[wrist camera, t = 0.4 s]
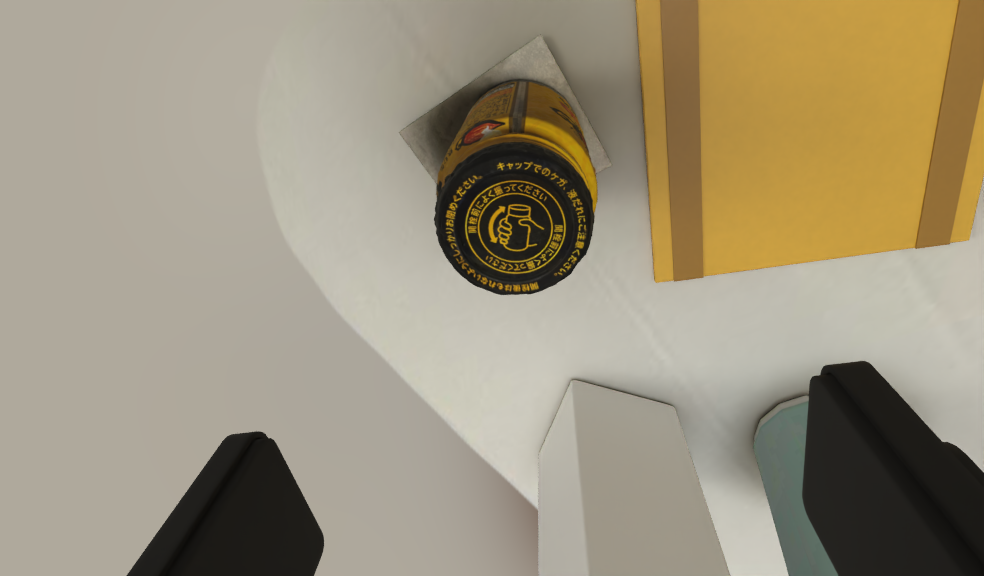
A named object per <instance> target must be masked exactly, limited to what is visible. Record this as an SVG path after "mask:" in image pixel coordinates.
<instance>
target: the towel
mask: <svg viewBox="0 0 984 576" xmlns="http://www.w3.org/2000/svg"><path fill="white" fill-rule="evenodd" d="M636 14H637V29H638V44H639V59H640V73H641V88H642V103H643V118H644V133H645V147H646V162H647V177H648V192H649V207H650V222H651V236H652V251H653V266H654V280H655V282H656V283H658V282H665V281H673V280H674V281H681V280H689V279H696V278H703V276H710V275H717V274H724V273H732V272H739V271H746V270H754V269H761V268H768V267H776V266H783V265H790V264H798V263H805V262H813V261H820V260H827V259H835V258H842V257H849V256H857V255H864V254H871V253H879V252H886V251H893V250H901V249H908V248H916V249H917V248H924V247H932V246H939V245H947V244H950V243H952V242H960V241H967V240H969V238H970V234H971V230H972V225H973V221H974V216H975V212H976V207H977V203H978V199H979V194H980V190H981V185H982V181H983V176H984V0H636Z"/></svg>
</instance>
